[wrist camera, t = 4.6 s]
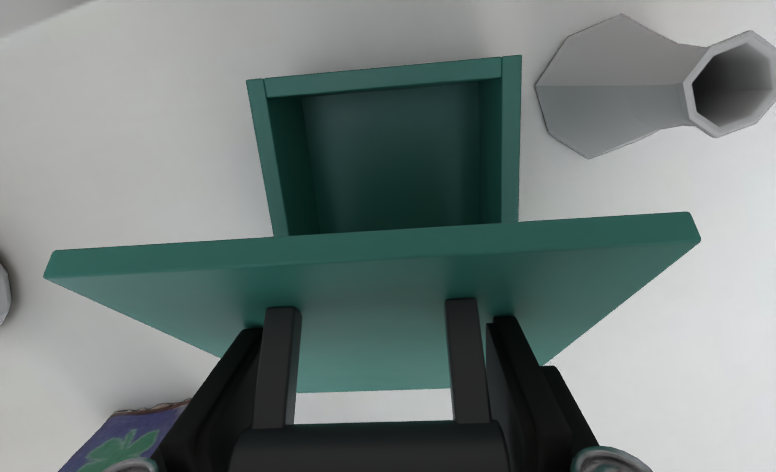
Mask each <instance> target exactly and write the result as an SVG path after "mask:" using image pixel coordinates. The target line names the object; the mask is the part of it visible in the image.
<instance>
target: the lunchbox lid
mask: <svg viewBox="0 0 776 472" xmlns="http://www.w3.org/2000/svg"><path fill="white" fill-rule="evenodd" d="M700 241H701V237H700V234H699V232H698V230H697V228H696V225H695V223H694V221H693V218H692V216H691V214H690V213H689V212H672V213H656V214H640V215H623V216H607V217H591V218H574V219H558V220H542V221H526V222H509V223H493V224H477V225H460V226H444V227H428V228H411V229H395V230H379V231H362V232H346V233H330V234H313V235H297V236H281V237H264V238H248V239H232V240H215V241H199V242H183V243H166V244H150V245H134V246H118V247H101V248H85V249H69V250H56V251H54V252H53V253H52V255H51V258H50V260H49V262H48V265H47V267H46V270H45V272H44V275H43V277H44V278H45V279H47V280H49V281H51V282H53V283H56V284H58V285H60V286H62V287H64V288H67V289H69V290H71V291H73V292H76V293H78V294H80V295H82V296H84V297H87V298H89V299H91V300H93V301H95V302H98V303H100V304H102V305H104V306H107V307H109V308H111V309H113V310H115V311H118V312H120V313H122V314H124V315H127V316H129V317H131V318H133V319H135V320H138V321H140V322H142V323H144V324H146V325H149V326H151V327H153V328H155V329H158V330H160V331H162V332H164V333H166V334H169V335H171V336H173V337H175V338H177V339H180V340H182V341H184V342H186V343H189V344H191V345H193V346H195V347H197V348H200V349H202V350H204V351H206V352H209V353H211V354H213V355H215V356H217V357H220V358H222V357H223V355H224V354H225V352H226V351H227V350H228V348H229V347H230V345H231V344H232V343H233V341H234V340H235V339H236V337H237V336H238V334H239V333H240V332H241V331H242V330H243V329H257V328H263V335H262V343H261V350H260V358H259V366H258V374H257V382H256V390H255V397H254V405H253V413H252V421H251V426H249V427H247V428H245V429H244V430H243V431H242V432H241V433H240V434H239V436H238V438H237V440H236V442H235V444H234V446H233V449H232V452H231V455H230V459H229V463H228V469H227V472H511V466H510V459H509V453H508V448H507V444H506V439H505V436H504V432H503V429H502V427H501V425H500V423H499V421H497V420H495V419H492V414H491V407H490V399H489V391H488V383H487V375H486V323H493V318H494V317H509V316H515V317H516V318H517V320H518V322H519V324H520V326H521V328H522V331H523V333H524V335H525V337H526V339H527V341H528V343H529V345H530V347H531V349H532V351H533V353H534V355H535V357H536V359H537V361H538V364H539V366H543V365H544V364H546V363H547V362H548V361H549V360H551V359H552V358H553V357H554V356H556V355H557V354H558V353H560V352H561V351H562V350H563V349H565V348H566V347H567V346H568V345H570V344H571V343H572V342H574V341H575V340H576V339H577V338H579V337H580V336H581V335H582V334H584V333H585V332H586V331H588V330H589V329H590V328H591V327H593V326H594V325H595V324H596V323H598V322H599V321H600V320H602V319H603V318H604V317H605V316H607V315H608V314H609V313H610V312H612V311H613V310H614V309H616V308H617V307H618V306H619V305H621V304H622V303H623V302H624V301H626V300H627V299H628V298H630V297H631V296H632V295H633V294H635V293H636V292H637V291H638V290H640V289H641V288H642V287H644V286H645V285H646V284H647V283H649V282H650V281H651V280H652V279H654V278H655V277H656V276H658V275H659V274H660V273H661V272H663V271H664V270H665V269H666V268H668V267H669V266H670V265H672V264H673V263H674V262H675V261H677V260H678V259H679V258H680V257H682V256H683V255H684V254H686V253H687V252H688V251H689V250H691V249H692V248H693V247H694V246H696V245H697V244H698V243H700ZM442 388H451V399H452V411H453V420H444V421H406V422H367V423H329V424H294V414H295V402H296V392H297V393H317V392H348V391H379V390H411V389H442Z"/></svg>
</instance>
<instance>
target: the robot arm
mask: <svg viewBox="0 0 776 472" xmlns="http://www.w3.org/2000/svg"><path fill="white" fill-rule="evenodd" d="M262 335H263V328H257V329H243V330H242V331H241V332H240V333H239V334H238V336H237V337H236V339H235V340H234V341H233V343H232V344H231V345H230V347H229V348H228V350H227V351H226V352H225V354H224V355H223V357H222V358H221V359H220V361H219V362H218V363H217V365H216V366H215V368H214V369H213V370H212V372H211V373H210V375H209V376H208V377H207V379H206V380H205V381H204V383H203V384H202V386H201V387H200V388H199V390H198V391H197V393H196V394H195V395H194V397H193V398H192V399H191V401H190V402H189V404H188V405H187V406H186V408H185V409H184V411H183V412H182V413H181V415H180V416H179V417H178V419H177V420H176V422H175V423H174V424H173V426H172V427H171V429H170V430H169V431H168V433H167V434H166V435H165V437H164V438H163V440H162V441H161V442H160V444H159V446H158V447H157V448H156V450H155V451H154V453H153V454H152V455H151V457H150V458H146V457H136V458H130V459H126V460H124V461H121V462H118V463H115V464H114V465H112V466H110V467H108V468H106V469H105V470H103V471H102V472H227V469H228V463H229V459H230V455H231V452H232V449H233V446H234V444H235V442H236V440H237V438H238V436H239V434H240V433H241V432H242V431H243V430H244V429H245V428H247V427H249V426H251V421H252V413H253V405H254V397H255V390H256V382H257V374H258V366H259V358H260V350H261V343H262ZM486 375H487V383H488V391H489V399H490V407H491V414H492V419H495V420H497V421H499V423H500V425H501V427H502V429H503V432H504V436H505V439H506V444H507V448H508V453H509V459H510V466H511V472H653V471H652V470H651V469H650V468H649V467H648V466H647V465H645V464H644V463H643V462H642V461H640V460H639V459H638V458H636V457H634V456H632V455H630V454H629V453H627V452H625V451H622V450H619V449H616V448H612V447H605V446H599V444H598V442H597V440H596V438H595V436H594V435H593V433H592V431H591V429H590V427H589V425H588V424H587V422H586V420H585V418H584V416H583V414H582V413H581V411H580V409H579V407H578V405H577V403H576V402H575V400H574V398H573V396H572V394H571V392H570V391H569V389H568V387H567V385H566V383H565V381H564V380H563V378H562V376H561V374H560V372H559V371H558V369H557V368H556V367H555V366H539V364H538V361H537V359H536V357H535V355H534V353H533V351H532V349H531V347H530V345H529V343H528V341H527V339H526V337H525V335H524V333H523V331H522V328H521V326H520V324H519V322H518V320H517V318H516V317H515V316H509V317H494V318H493V323H486Z"/></svg>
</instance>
